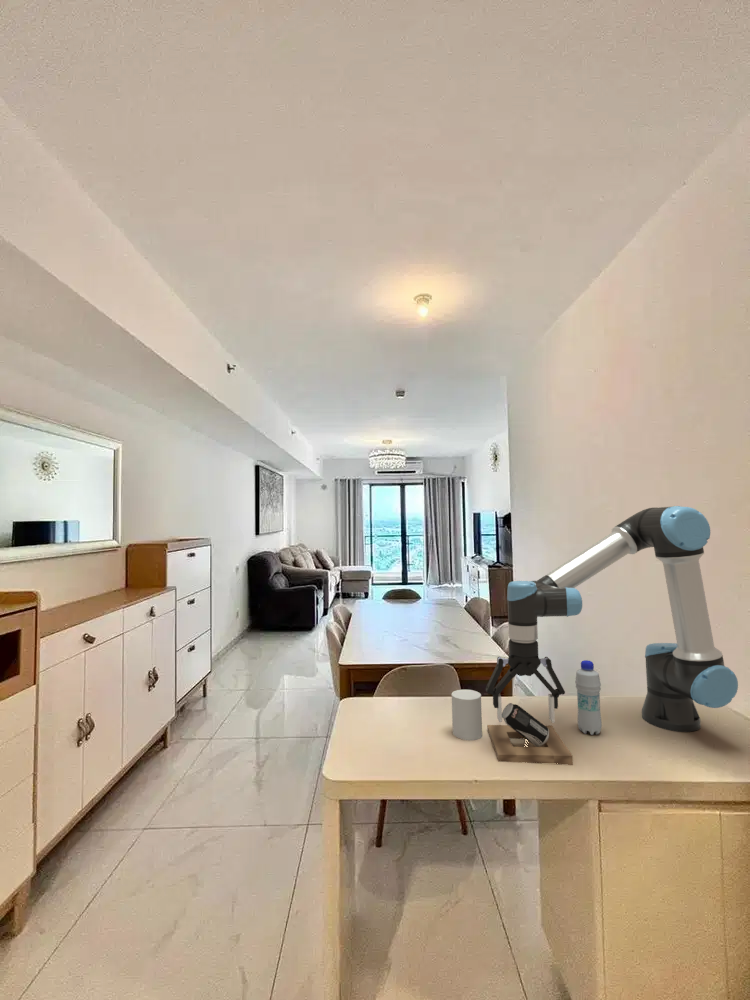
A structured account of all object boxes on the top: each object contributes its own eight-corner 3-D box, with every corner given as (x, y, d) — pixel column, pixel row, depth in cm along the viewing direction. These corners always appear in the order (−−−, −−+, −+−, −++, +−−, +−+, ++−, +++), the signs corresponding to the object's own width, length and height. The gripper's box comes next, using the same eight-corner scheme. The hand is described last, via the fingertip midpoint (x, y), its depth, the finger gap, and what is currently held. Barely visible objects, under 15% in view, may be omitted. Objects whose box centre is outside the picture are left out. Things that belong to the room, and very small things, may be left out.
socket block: (552, 734, 139) (551, 725, 139) (572, 765, 121) (572, 755, 121) (487, 733, 140) (487, 724, 140) (498, 764, 122) (498, 754, 122)
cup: (485, 734, 139) (483, 691, 140) (478, 746, 132) (477, 701, 133) (457, 730, 143) (456, 688, 143) (449, 741, 136) (448, 697, 136)
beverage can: (535, 739, 133) (499, 711, 134) (549, 725, 132) (512, 696, 133) (538, 753, 127) (500, 723, 128) (552, 738, 126) (514, 708, 127)
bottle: (605, 737, 136) (602, 664, 137) (579, 736, 137) (576, 663, 138) (599, 727, 142) (596, 657, 143) (575, 726, 144) (572, 656, 145)
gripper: (566, 636, 135) (569, 715, 134) (474, 636, 136) (476, 714, 135) (575, 643, 127) (578, 726, 126) (477, 643, 129) (480, 725, 128)
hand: (525, 720), depth 131 cm, fingers open, 13 cm apart
